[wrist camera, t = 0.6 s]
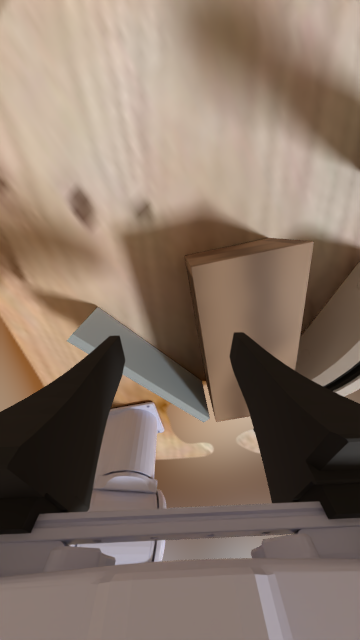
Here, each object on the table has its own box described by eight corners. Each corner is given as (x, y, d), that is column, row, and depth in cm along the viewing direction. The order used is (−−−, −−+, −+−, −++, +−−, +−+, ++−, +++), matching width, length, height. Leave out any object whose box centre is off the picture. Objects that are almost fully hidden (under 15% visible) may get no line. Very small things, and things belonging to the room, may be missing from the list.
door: (193, 388, 27) (199, 427, 22) (88, 318, 21) (61, 347, 16) (202, 381, 27) (211, 419, 22) (97, 306, 21) (72, 333, 15)
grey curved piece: (308, 369, 27) (345, 425, 18) (279, 355, 28) (301, 403, 19) (400, 264, 21) (532, 272, 12) (358, 249, 21) (454, 245, 12)
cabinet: (206, 381, 27) (216, 422, 22) (184, 255, 19) (191, 267, 13) (263, 371, 27) (289, 409, 21) (268, 237, 18) (313, 241, 13)
